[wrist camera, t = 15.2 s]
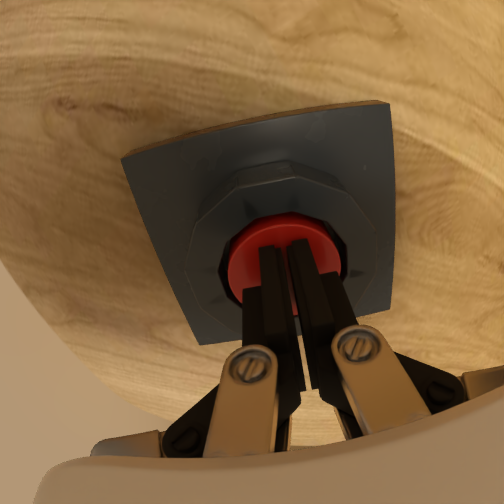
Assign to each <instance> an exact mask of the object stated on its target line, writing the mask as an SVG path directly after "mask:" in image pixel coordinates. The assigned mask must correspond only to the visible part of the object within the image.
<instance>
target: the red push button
mask: <svg viewBox="0 0 504 504" xmlns="http://www.w3.org/2000/svg"><path fill="white" fill-rule="evenodd" d="M304 238H307V239H308V242H309V245H310V248H311V251H312V254H313V257H314V260H315V263H316V266H317V269H318V272H319V274H323V273H328V272H333V271H337V272H338V274H339V276H340V271H341V261H340V256H339V253H338V250H337V248H336V246H335V244H334V242H333V240H332V238H331V236H330V234H329V232H328V229H327V228H326V226H325V224H324V223H323V221H322V220H319V219H316V218H313V217H309V216H306V215H303V214H300V213H296V212H293V211H291V212H286V213H281V214H276V215H271V216H266V217H261V218H256V219H254V220H253V221H252V222H251V223H249V224H248V225H247V226H246V227H245V228H243V229H242V230H241V231H240V232H238V233H237V234H236V235H235V236H234V237H232V238H231V240H230V246H229V260H228V281H229V285H230V288H231V290H232V292H233V293H234V295H235V297H236V298H237V299H238V300H239V301H240V302H241V303H242V290H243V289H245V288H250V287H255V286H261V278H260V264H259V251H258V247H263V246H268V245H273V244H274V247H275V248H280V247H281V250H282V255H283V261H284V266H285V271H286V276H287V282H288V287H289V292H290V298H291V303H292V309H293V314H294V315H297V314H298V312H297V306H296V300H295V294H294V289H293V283H292V277H291V272H290V266H289V260H288V255H287V250H286V246H290V245H292V243H291V241H294V240H299V239H304Z"/></svg>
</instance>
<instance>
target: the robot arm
mask: <svg viewBox="0 0 504 504" xmlns="http://www.w3.org/2000/svg"><path fill="white" fill-rule="evenodd" d="M291 243H292V245H290V246H286V250H287V255H288V260H289V266H290V272H291V277H292V283H293V289H294V294H295V300H296V306H297V312H298V317H299V322H300V327H301V333H302V338H303V343H304V348H305V354H306V359H307V365H308V370H309V376H310V382H311V387H312V390H313V389H319V394H320V397H321V398H322V400H323V401H325V402H327V403H329V404H330V405H332V406H333V407H334V411H335V414H336V416H337V419H338V421H339V424H340V426H341V429H342V431H343V434H344V436H345V439H346V441H341V442H337V443H332V444H327V445H322V446H316V447H311V448H305V449H298V450H292V451H290V444H291V430H292V413H293V412H294V411H295V410H296V409H297V408H298V406H299V405H300V404H301V396H300V392H302V391H306V385H305V379H304V372H303V366H302V360H301V355H300V349H299V343H298V337H297V331H296V326H295V320H294V314H293V309H292V303H291V298H290V292H289V287H288V282H287V276H286V271H285V266H284V261H283V255H282V250H281V247H280V248H275V247H274V244H273V245H268V246H263V247H258V251H259V264H260V278H261V286H255V287H250V288H245V289H243V290H242V347H241V348H238V349H237V350H235V351H234V352H232V353H231V354H230V355H229V356H228V358H227V359H226V361H225V363H224V366H223V370H222V374H221V378H220V383H219V384H218V385H217V386H216V387H215V388H214V389H212V390H211V391H210V392H209V393H208V394H207V395H206V396H205V397H203V398H202V399H201V400H200V401H199V402H198V403H196V404H195V405H194V406H193V407H192V408H191V409H190V410H188V411H187V412H186V413H185V414H184V415H182V416H181V417H180V418H179V419H178V420H176V421H175V422H174V423H173V424H172V425H171V426H170V427H169V428H168V429H167V430H166V431H163V432H159V431H158V430H153V431H149V432H144V433H138V434H133V435H128V436H122V437H116V438H109V439H105V440H102V441H99V442H98V443H97V444H96V445H95V446H94V447H93V449H92V450H91V454H90V456H89V457H82V458H77V459H73V460H70V461H66V462H63V463H61V464H58V465H56V466H54V467H53V468H51V469H50V470H49V471H48V472H47V473H46V474H45V476H44V477H43V479H42V481H41V482H40V485H39V487H38V490H37V493H36V495H35V498H34V502H33V504H504V365H503V366H498V367H493V368H488V369H482V370H476V371H470V372H464V373H463V374H462V376H458V377H456V376H454V375H452V374H450V373H448V372H445V371H443V370H440V369H437V368H435V367H432V366H430V365H427V364H424V363H422V362H419V361H417V360H414V359H412V358H409V357H406V356H404V355H401V354H399V353H396V352H394V351H393V350H392V349H391V347H390V346H389V344H388V343H387V341H386V339H385V338H384V336H383V335H382V334H381V333H380V332H379V331H378V330H377V329H375V328H373V327H371V326H367V325H358V322H357V319H356V317H355V314H354V312H353V309H352V306H351V304H350V301H349V299H348V296H347V294H346V291H345V289H344V286H343V284H342V281H341V279H340V276H339V274H338V272H337V271H333V272H328V273H323V274H319V272H318V269H317V266H316V263H315V260H314V257H313V254H312V251H311V248H310V245H309V242H308V239H307V238H304V239H299V240H294V241H291Z"/></svg>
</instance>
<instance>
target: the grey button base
mask: <svg viewBox="0 0 504 504" xmlns="http://www.w3.org/2000/svg"><path fill="white" fill-rule="evenodd" d="M121 163H122V166H123V169H124V171H125V174H126V177H127V180H128V182H129V185H130V188H131V191H132V193H133V196H134V198H135V201H136V204H137V206H138V209H139V211H140V214H141V217H142V219H143V222H144V224H145V227H146V229H147V232H148V234H149V236H150V239H151V241H152V244H153V246H154V248H155V251H156V253H157V255H158V258H159V260H160V262H161V265H162V267H163V269H164V272H165V274H166V276H167V278H168V281H169V283H170V285H171V287H172V289H173V292H174V294H175V296H176V298H177V300H178V302H179V305H180V307H181V309H182V311H183V313H184V315H185V317H186V319H187V321H188V323H189V325H190V327H191V330H192V332H193V334H194V336H195V338H196V340H197V342H198V344H199V345H208V344H215V343H222V342H229V341H236V340H242V303H241V302H240V301H239V300H238V299H237V298H236V297H235V295H234V293H233V292H232V290H231V288H230V285H229V281H228V260H229V246H230V240H231V238H232V237H234V236H235V235H236V234H237V233H238V232H240V231H241V230H242V229H243V228H245V227H246V226H247V225H248V224H249V223H251V222H252V221H253V220H254V219H256V218H261V217H266V216H271V215H276V214H281V213H286V212H291V211H293V212H296V213H300V214H303V215H306V216H309V217H313V218H316V219H319V220H322V221H323V223H324V224H325V226H326V228H327V229H328V232H329V234H330V236H331V238H332V240H333V242H334V244H335V246H336V248H337V250H338V253H339V256H340V261H341V271H340V279H341V281H342V284H343V286H344V289H345V291H346V294H347V296H348V299H349V301H350V304H351V306H352V309H353V312H354V314H355V317H360V316H365V315H369V314H373V313H377V312H381V311H385V310H389V309H390V305H391V294H392V282H393V268H394V250H395V165H394V146H393V133H392V121H391V111H390V104H389V103H386V102H382V101H378V100H371V101H360V102H350V103H341V104H333V105H325V106H318V107H311V108H304V109H298V110H292V111H286V112H280V113H275V114H270V115H264V116H259V117H254V118H250V119H245V120H240V121H236V122H231V123H227V124H223V125H219V126H215V127H211V128H207V129H203V130H199V131H195V132H191V133H188V134H184V135H180V136H177V137H173V138H170V139H167V140H163V141H160V142H157V143H154V144H150V145H147V146H144V147H141V148H138V149H135V150H132V151H130V152H129V153H127V154H126V155H125V156H124V157H122V158H121ZM294 320H295V326H296V331H297V336H299V335H302V333H301V327H300V322H299V317H298V314H297V315H294Z"/></svg>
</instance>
